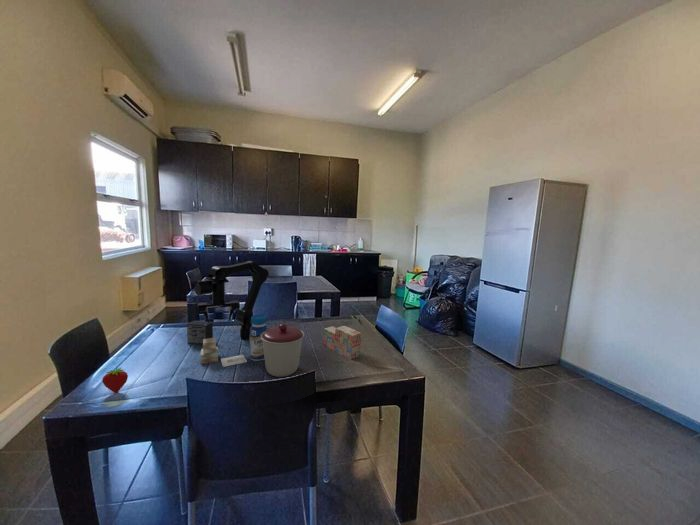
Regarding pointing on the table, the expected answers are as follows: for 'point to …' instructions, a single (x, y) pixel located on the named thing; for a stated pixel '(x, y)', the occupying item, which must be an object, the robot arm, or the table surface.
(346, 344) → the stack of blocks
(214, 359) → the tower base
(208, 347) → the beige cube
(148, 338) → the table surface
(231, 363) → the page
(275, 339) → the canister
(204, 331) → the small box
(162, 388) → the table surface
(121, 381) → the strawberry
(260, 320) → the beverage bottle
